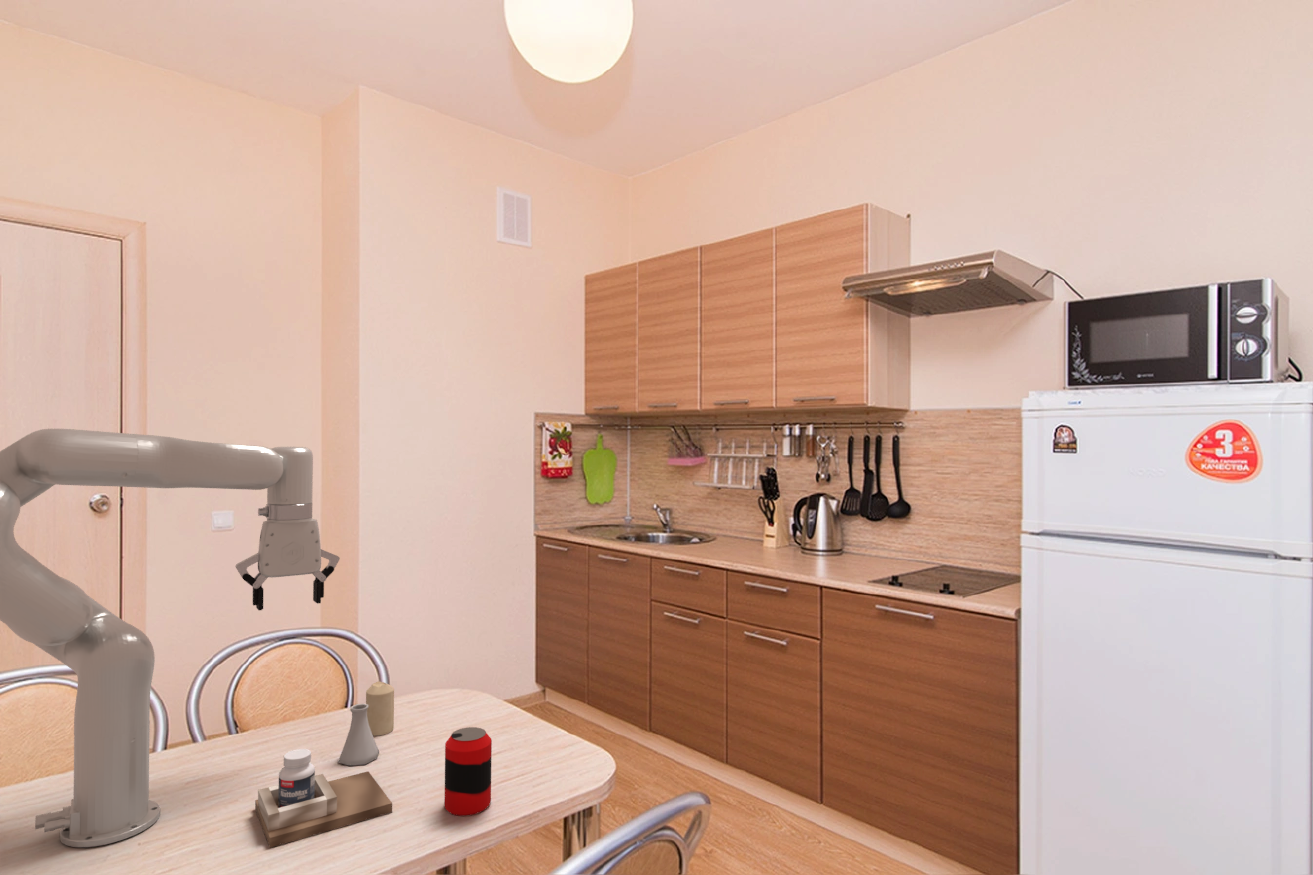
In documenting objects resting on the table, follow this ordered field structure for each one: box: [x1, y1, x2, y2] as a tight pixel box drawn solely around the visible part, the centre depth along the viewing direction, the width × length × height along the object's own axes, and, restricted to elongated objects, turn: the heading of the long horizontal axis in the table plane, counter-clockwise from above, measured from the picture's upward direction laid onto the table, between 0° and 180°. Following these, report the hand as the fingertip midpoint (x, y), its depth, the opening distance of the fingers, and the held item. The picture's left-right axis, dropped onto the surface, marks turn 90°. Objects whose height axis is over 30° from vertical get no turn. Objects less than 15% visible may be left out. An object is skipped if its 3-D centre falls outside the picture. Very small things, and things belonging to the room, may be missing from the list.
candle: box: [365, 681, 395, 737], centre depth 153 cm, size 6×6×10 cm
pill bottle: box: [278, 748, 316, 808], centre depth 118 cm, size 5×5×9 cm
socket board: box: [254, 771, 393, 849], centre depth 120 cm, size 18×14×4 cm
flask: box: [337, 703, 380, 766], centre depth 140 cm, size 7×7×10 cm
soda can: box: [443, 726, 493, 817], centre depth 122 cm, size 8×8×12 cm
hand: (288, 605), depth 135 cm, fingers open, 9 cm apart
